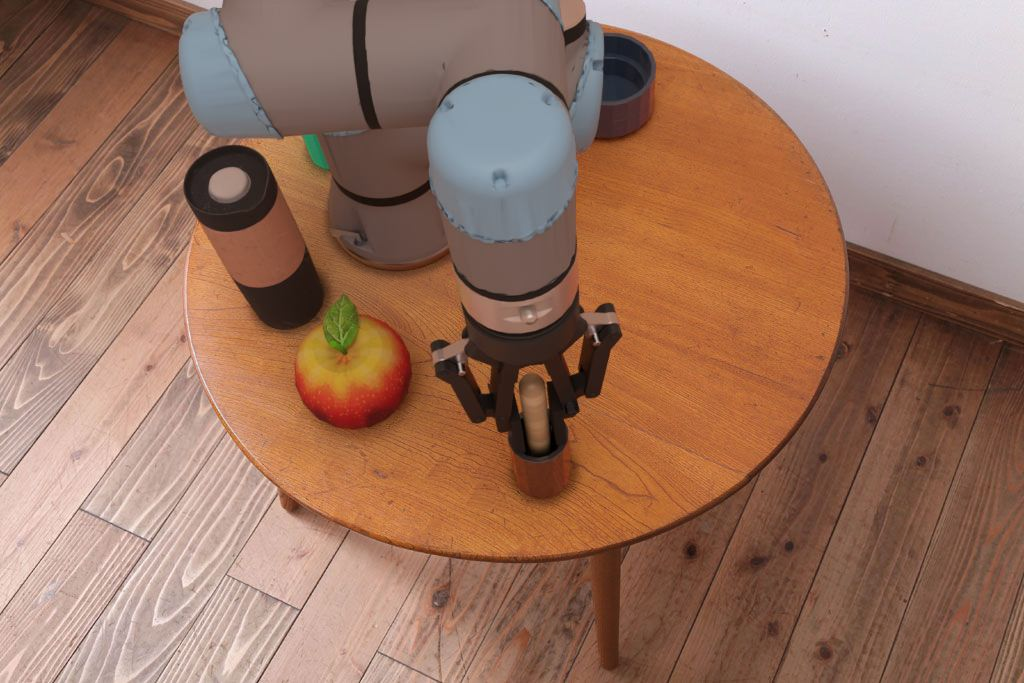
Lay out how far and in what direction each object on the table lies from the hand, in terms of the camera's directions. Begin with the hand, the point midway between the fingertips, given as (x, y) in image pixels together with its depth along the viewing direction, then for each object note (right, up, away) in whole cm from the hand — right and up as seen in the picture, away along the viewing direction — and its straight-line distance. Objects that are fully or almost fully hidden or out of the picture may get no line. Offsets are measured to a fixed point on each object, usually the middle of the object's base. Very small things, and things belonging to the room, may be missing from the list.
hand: (537, 433), depth 84 cm
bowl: (+8, +33, +28) cm, 44 cm away
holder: (+1, -4, +8) cm, 9 cm away
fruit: (-16, +3, +14) cm, 21 cm away
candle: (-21, +29, +28) cm, 45 cm away
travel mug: (-25, +12, +19) cm, 33 cm away
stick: (+1, -4, +8) cm, 9 cm away
